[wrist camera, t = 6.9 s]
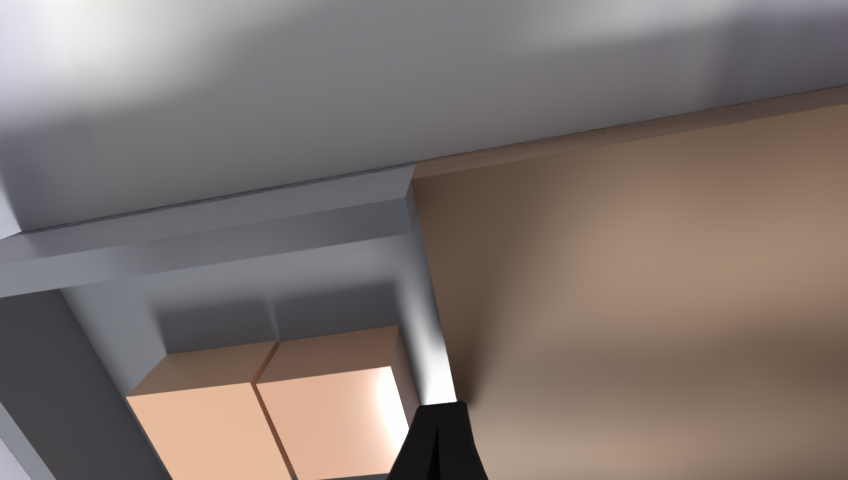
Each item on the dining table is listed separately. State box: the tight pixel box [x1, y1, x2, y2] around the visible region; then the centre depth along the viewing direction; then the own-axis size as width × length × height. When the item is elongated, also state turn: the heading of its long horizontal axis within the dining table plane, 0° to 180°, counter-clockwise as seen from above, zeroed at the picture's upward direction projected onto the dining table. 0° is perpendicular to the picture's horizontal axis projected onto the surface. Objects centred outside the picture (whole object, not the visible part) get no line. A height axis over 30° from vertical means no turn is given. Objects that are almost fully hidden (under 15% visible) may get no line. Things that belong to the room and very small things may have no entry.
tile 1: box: [256, 325, 420, 480], centre depth 14 cm, size 4×4×2 cm
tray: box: [0, 162, 457, 480], centre depth 14 cm, size 14×13×4 cm
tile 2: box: [126, 341, 295, 480], centre depth 14 cm, size 4×4×2 cm
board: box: [411, 85, 848, 480], centre depth 13 cm, size 14×12×2 cm
